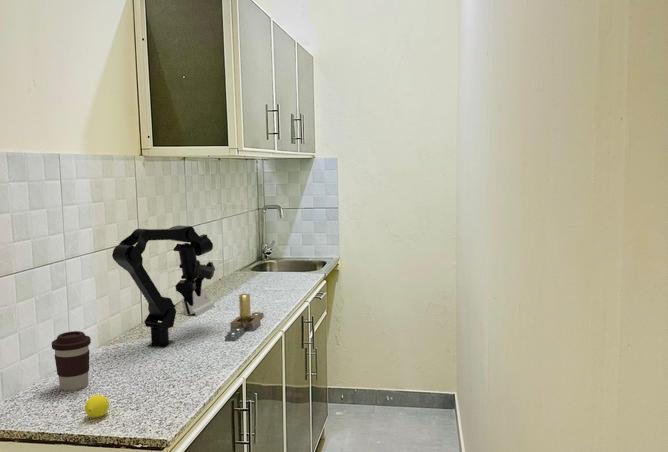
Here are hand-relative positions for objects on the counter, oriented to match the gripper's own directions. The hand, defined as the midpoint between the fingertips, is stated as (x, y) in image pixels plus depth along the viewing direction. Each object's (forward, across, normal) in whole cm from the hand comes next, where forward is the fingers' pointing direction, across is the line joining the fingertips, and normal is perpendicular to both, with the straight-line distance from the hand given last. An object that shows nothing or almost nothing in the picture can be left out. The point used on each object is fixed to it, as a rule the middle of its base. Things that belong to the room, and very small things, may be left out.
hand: (195, 300), depth 217 cm
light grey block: (+15, +29, +10) cm, 34 cm away
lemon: (+2, -73, +3) cm, 73 cm away
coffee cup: (+3, -54, +19) cm, 57 cm away
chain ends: (+14, +4, -16) cm, 21 cm away
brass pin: (+14, +4, -16) cm, 21 cm away
